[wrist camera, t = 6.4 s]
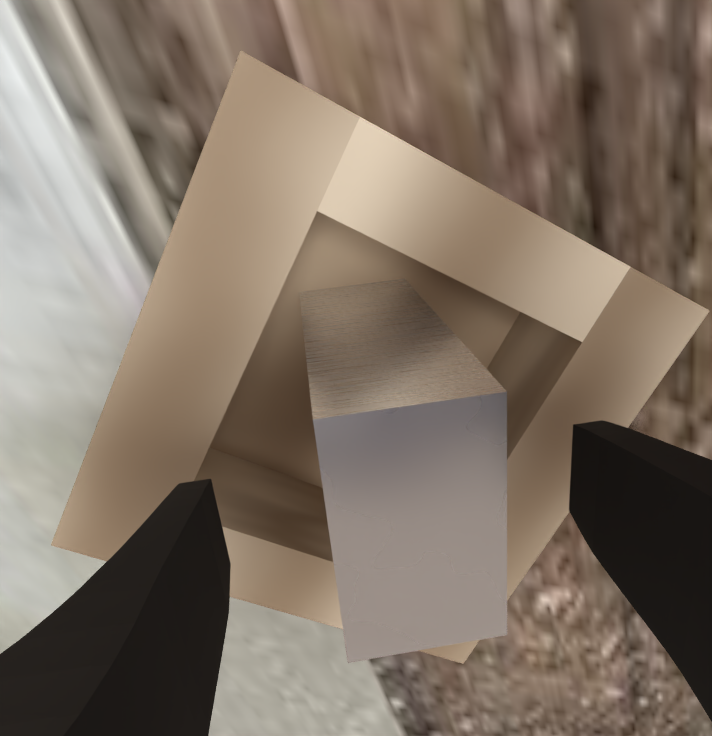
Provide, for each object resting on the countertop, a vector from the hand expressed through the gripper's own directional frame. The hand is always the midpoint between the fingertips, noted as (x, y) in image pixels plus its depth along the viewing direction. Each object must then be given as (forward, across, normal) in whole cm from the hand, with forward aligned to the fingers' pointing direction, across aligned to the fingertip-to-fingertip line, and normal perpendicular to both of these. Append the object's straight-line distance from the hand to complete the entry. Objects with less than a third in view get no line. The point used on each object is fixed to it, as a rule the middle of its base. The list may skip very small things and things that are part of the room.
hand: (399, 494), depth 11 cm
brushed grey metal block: (+6, 0, 0) cm, 6 cm away
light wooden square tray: (+7, 0, 0) cm, 7 cm away
